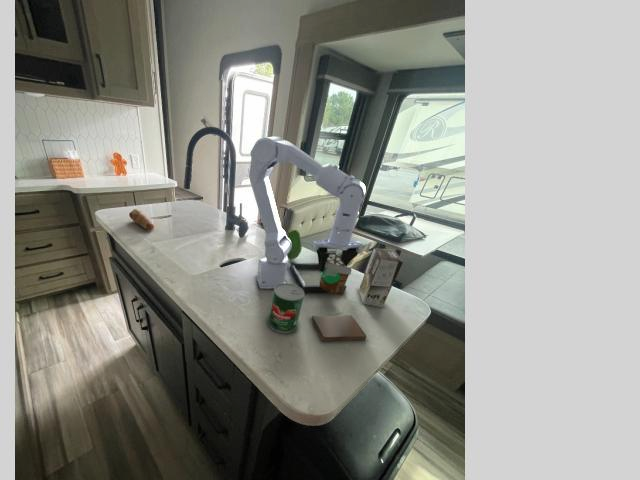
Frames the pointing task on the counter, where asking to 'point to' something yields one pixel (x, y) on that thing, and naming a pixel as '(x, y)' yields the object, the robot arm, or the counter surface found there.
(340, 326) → the cutting board
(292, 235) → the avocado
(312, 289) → the dark square tray
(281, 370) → the counter surface
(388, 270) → the coffee box
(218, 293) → the counter surface
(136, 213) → the bread
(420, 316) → the counter surface
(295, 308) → the canned tomato
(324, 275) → the food container
